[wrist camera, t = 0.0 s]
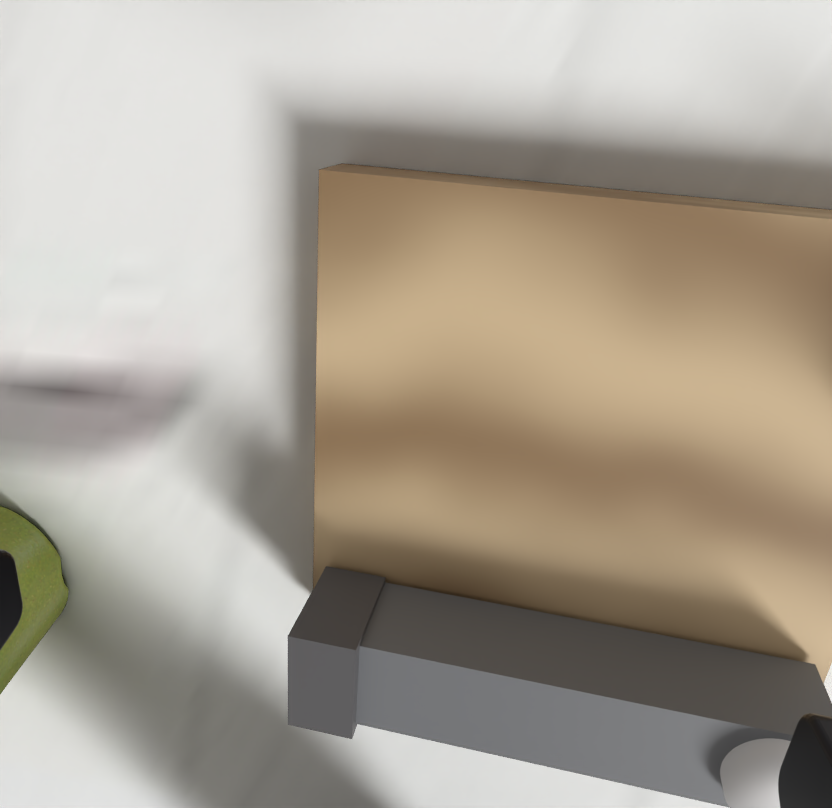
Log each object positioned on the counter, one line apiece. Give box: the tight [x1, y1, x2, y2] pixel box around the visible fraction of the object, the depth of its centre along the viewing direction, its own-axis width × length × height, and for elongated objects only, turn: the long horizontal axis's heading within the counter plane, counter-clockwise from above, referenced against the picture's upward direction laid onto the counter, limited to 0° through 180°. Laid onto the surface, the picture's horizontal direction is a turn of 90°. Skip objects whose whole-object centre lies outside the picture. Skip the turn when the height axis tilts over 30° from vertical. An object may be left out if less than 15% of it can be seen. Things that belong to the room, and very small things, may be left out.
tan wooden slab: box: [313, 164, 832, 683], centre depth 20 cm, size 16×18×5 cm
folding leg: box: [288, 566, 832, 808], centre depth 21 cm, size 15×3×4 cm, turn 86°
